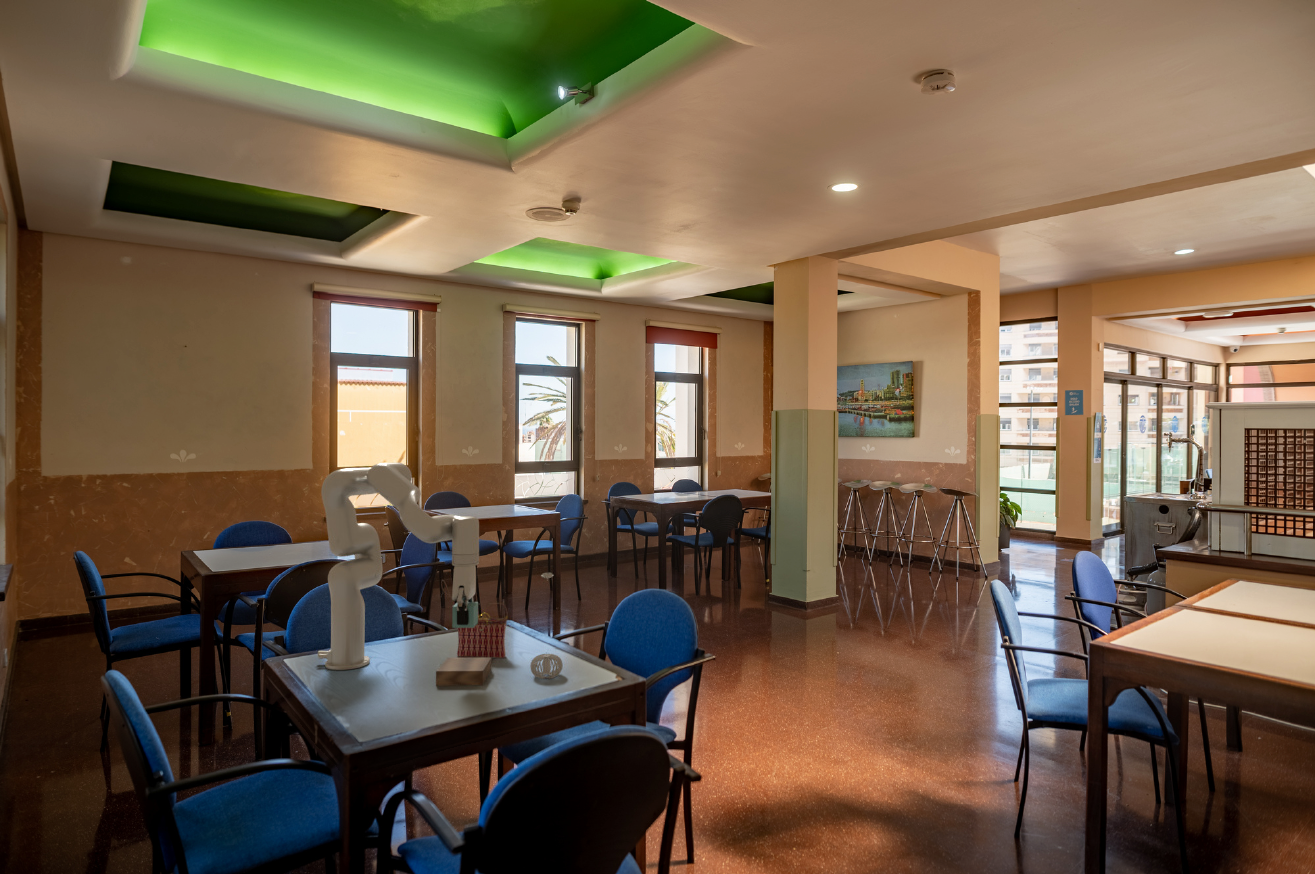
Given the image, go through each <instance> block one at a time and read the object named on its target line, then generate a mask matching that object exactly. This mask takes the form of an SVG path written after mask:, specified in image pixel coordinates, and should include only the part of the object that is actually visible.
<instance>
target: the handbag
mask: <svg viewBox="0 0 1315 874" xmlns="http://www.w3.org/2000/svg"><path fill="white" fill-rule="evenodd" d="M440 583H441V584H440V585H441V590H442V594H441V596H440V597H442V595H443V594H444V593H445V594H446V595H447V596H448V597H449V599H450V602H451V604H452V607H453V606H454V605H455V604H454V602H453V599H452V596H451V594H450V591H449V588H448V585H447V584H446V581H445V580H444V579H441V581H440ZM443 583H444V585H445V587H446V589H447V592H448V593H447V592H446V591H445V589H444V588H443ZM494 604H495V605H496V604H497V602H493V603H492V602H490V605H494ZM498 604H500V605H503V606H504V608H505V610H506V616H505V617H504V618H493V617H491V616H490V615H489V614H488V613H487V612H482V613H481V614H478V623H477V624H476V625H475V627H474V628H457V638H458V643H457V645H458V646H457V652H456V655H457V658H487V657H491V659H492V658H494V659H504V658H506V654H507V653H506V646H505V644H506V643H505V640H506V629H507V628H506V627H507V623H508V615H509V614H508V610H507V607H506V605H505V604H503V603H501V602H498ZM485 614H486V615H487V616H488V617H486V615H485ZM481 616H482V617H481Z"/></svg>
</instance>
